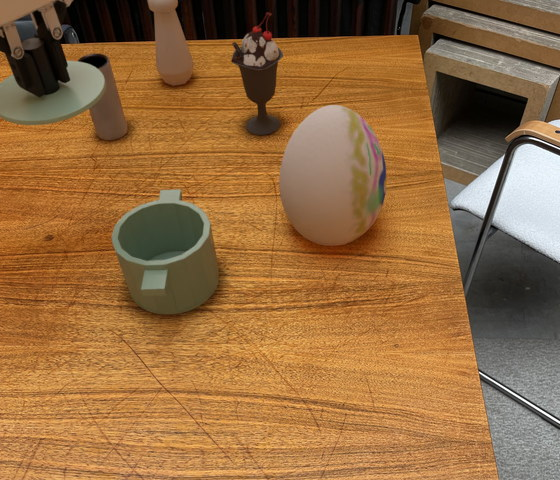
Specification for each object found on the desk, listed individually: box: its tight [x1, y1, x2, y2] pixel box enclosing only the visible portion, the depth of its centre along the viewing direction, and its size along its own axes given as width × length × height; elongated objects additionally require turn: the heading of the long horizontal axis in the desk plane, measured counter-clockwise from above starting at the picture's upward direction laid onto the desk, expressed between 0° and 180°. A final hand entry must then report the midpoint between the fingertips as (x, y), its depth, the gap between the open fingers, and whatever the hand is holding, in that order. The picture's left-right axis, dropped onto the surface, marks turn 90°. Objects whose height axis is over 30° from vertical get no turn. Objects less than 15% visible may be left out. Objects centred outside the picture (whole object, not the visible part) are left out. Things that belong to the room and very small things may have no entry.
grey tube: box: [76, 53, 129, 141], centre depth 88 cm, size 4×4×10 cm
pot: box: [110, 188, 220, 316], centre depth 70 cm, size 10×16×8 cm, turn 179°
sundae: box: [230, 12, 284, 136], centre depth 85 cm, size 7×7×15 cm
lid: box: [0, 37, 106, 126], centre depth 63 cm, size 11×11×6 cm
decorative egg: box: [278, 104, 388, 247], centre depth 72 cm, size 12×12×15 cm
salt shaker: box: [146, 0, 195, 87], centre depth 95 cm, size 6×6×13 cm
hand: (46, 83), depth 64 cm, fingers closed on lid, 2 cm apart
